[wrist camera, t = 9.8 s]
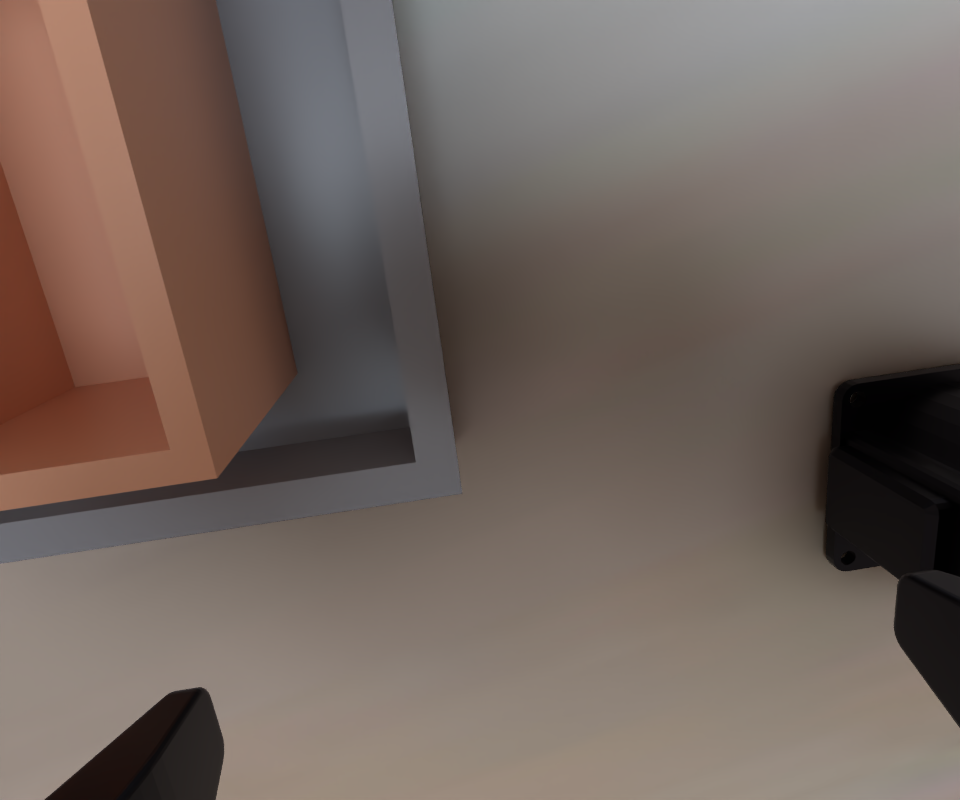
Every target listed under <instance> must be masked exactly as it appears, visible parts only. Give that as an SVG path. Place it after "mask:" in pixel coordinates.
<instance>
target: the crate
mask: <svg viewBox="0 0 960 800" xmlns="http://www.w3.org/2000/svg"><path fill="white" fill-rule="evenodd" d="M216 4H217V9H218V13H219V18H220V22H221V27H222V31H223V36H224V40H225V45H226V49H227V54H228V59H229V63H230V68H231V72H232V77H233V81H234V86H235V90H236V95H237V100H238V104H239V109H240V113H241V118H242V122H243V127H244V131H245V136H246V140H247V145H248V150H249V154H250V159H251V163H252V168H253V172H254V177H255V181H256V186H257V191H258V195H259V200H260V204H261V209H262V213H263V218H264V222H265V227H266V231H267V236H268V241H269V245H270V250H271V254H272V259H273V263H274V268H275V272H276V277H277V282H278V286H279V291H280V295H281V300H282V304H283V309H284V313H285V318H286V322H287V327H288V332H289V336H290V341H291V345H292V350H293V354H294V359H295V363H296V368H297V373H298V374H297V375H296V376H295V378H294V379H293V380H292V382H291V383H290V384H289V386H288V387H287V388H286V389H285V391H284V392H283V393H282V395H281V396H280V397H279V399H278V400H277V401H276V402H275V404H274V405H273V406H272V408H271V409H270V410H269V412H268V413H267V414H266V416H265V417H264V418H263V419H262V421H261V422H260V423H259V425H258V426H257V427H256V429H255V430H254V431H253V432H252V434H251V435H250V436H249V438H248V439H247V440H246V442H245V443H244V444H243V445H242V447H241V448H240V449H239V451H238V452H237V453H236V455H235V456H234V457H233V459H232V460H231V461H230V462H229V464H228V465H227V466H226V468H225V469H224V470H223V472H222V473H221V474H220V475H219V477H218V478H216V479H209V480H203V481H196V482H189V483H183V484H176V485H169V486H163V487H156V488H150V489H143V490H136V491H130V492H123V493H116V494H110V495H103V496H97V497H90V498H83V499H77V500H70V501H63V502H57V503H50V504H44V505H37V506H30V507H24V508H17V509H10V510H4V511H0V564H1V563H7V562H14V561H20V560H27V559H34V558H40V557H47V556H53V555H60V554H67V553H73V552H80V551H86V550H93V549H100V548H106V547H113V546H119V545H126V544H133V543H139V542H146V541H152V540H159V539H166V538H172V537H179V536H185V535H192V534H199V533H205V532H212V531H218V530H225V529H232V528H238V527H245V526H251V525H258V524H265V523H271V522H278V521H285V520H291V519H298V518H304V517H311V516H318V515H324V514H331V513H337V512H344V511H351V510H357V509H364V508H370V507H377V506H384V505H390V504H397V503H403V502H410V501H417V500H423V499H430V498H436V497H443V496H450V495H456V494H462V488H461V481H460V474H459V467H458V460H457V453H456V446H455V439H454V432H453V425H452V418H451V411H450V404H449V397H448V390H447V383H446V376H445V369H444V362H443V355H442V348H441V341H440V333H439V326H438V319H437V312H436V305H435V298H434V291H433V284H432V277H431V270H430V263H429V256H428V249H427V242H426V235H425V228H424V221H423V214H422V207H421V200H420V193H419V186H418V179H417V172H416V165H415V158H414V151H413V144H412V137H411V130H410V123H409V116H408V109H407V102H406V95H405V88H404V81H403V74H402V67H401V60H400V53H399V46H398V39H397V32H396V25H395V18H394V11H393V4H392V0H216Z"/></svg>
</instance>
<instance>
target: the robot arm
mask: <svg viewBox="0 0 960 800" xmlns="http://www.w3.org/2000/svg"><path fill="white" fill-rule="evenodd" d="M855 392H857V397H856V399H855V400H854V401H853V402H851V403H850V398H851V396H852V395H853V394H854V393H855ZM826 523H827V544H826V557H827V560H828V561H829V562H830V563H831V564H832V565H833V566H834V567H836V568H837V569H838V570H841V571H851V570H857V569H864V568H870V567H876V566H882V567H883V568H884V569H886V570H887V571H888V572H890V573H891V574H892V575H894V576H895V577H896V578H897V579H899V581H898V585H897V595H896V606H895V617H894V631H895V635H896V638H897V641H898V643H899V645H900V646H901V648H902V649H903V651H904V652H905V654H906V655H907V656H908V658H909V659H910V660H911V662H912V663H913V665H914V666H915V667H916V669H917V670H918V671H919V673H920V674H921V675H922V677H923V678H924V680H925V681H926V682H927V684H928V685H929V686H930V688H931V689H932V691H933V692H934V693H935V695H936V696H937V697H938V699H939V700H940V702H941V703H942V704H943V706H944V707H945V708H946V710H947V711H948V712H949V714H950V715H951V717H952V718H953V719H954V721H955V722H956V723H957V725H958V726H959V728H960V364H956V365H950V366H943V367H936V368H929V369H922V370H916V371H909V372H902V373H895V374H888V375H881V376H875V377H868V378H861V379H854V380H849V381H846V382H844V383H842V384H841V385H840V386H839V387H838V388H837V390H836V391H835V395H834V403H833V423H832V443H831V453H830V455H829V464H828V485H827V505H826ZM845 552H847V554H846V555H845V556H844V557H842V555H843V554H844V553H845ZM841 557H842V558H841ZM223 759H224V741H223V736H222V733H221V730H220V726H219V723H218V720H217V716H216V713H215V710H214V707H213V703H212V700H211V697H210V695H209V693H208V691H207V690H206V689H204V688H202V687H198V688H191V689H185V690H179V691H174V692H171V693H169V694H168V695H166V696H165V697H164V698H163V699H161V700H160V701H159V702H158V703H157V704H156V705H154V706H153V707H152V708H151V709H150V710H149V711H147V712H146V713H145V714H144V715H143V716H142V717H140V718H139V719H138V720H137V721H136V722H135V723H133V724H132V725H131V726H130V727H129V728H128V729H126V730H125V731H124V732H123V733H122V734H121V735H120V736H118V737H117V738H116V739H115V740H114V741H113V742H111V743H110V744H109V745H108V746H107V747H106V748H104V749H103V750H102V751H101V752H100V753H99V754H97V755H96V756H95V757H94V758H93V759H92V760H90V761H89V762H88V763H87V764H86V765H85V766H83V767H82V768H81V769H80V770H79V771H78V772H76V773H75V774H74V775H73V776H72V777H71V778H69V779H68V780H67V781H66V782H65V783H64V784H62V785H61V786H60V787H59V788H58V789H57V790H55V791H54V792H53V793H52V794H51V795H50V796H48V797H47V798H46V799H45V800H216V795H217V790H218V785H219V780H220V775H221V769H222V764H223Z"/></svg>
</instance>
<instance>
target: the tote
mask: <svg viewBox="0 0 960 800" xmlns="http://www.w3.org/2000/svg"><path fill="white" fill-rule="evenodd" d="M297 374H298V373H297V368H296V363H295V359H294V354H293V350H292V345H291V341H290V336H289V332H288V327H287V322H286V318H285V313H284V309H283V304H282V300H281V295H280V291H279V286H278V282H277V277H276V272H275V268H274V263H273V259H272V254H271V250H270V245H269V241H268V236H267V231H266V227H265V222H264V218H263V213H262V209H261V204H260V200H259V195H258V191H257V186H256V181H255V177H254V172H253V168H252V163H251V159H250V154H249V150H248V145H247V140H246V136H245V131H244V127H243V122H242V118H241V113H240V109H239V104H238V100H237V95H236V90H235V86H234V81H233V77H232V72H231V68H230V63H229V59H228V54H227V49H226V45H225V40H224V36H223V31H222V27H221V22H220V18H219V13H218V9H217V4H216V0H0V511H4V510H10V509H17V508H24V507H30V506H37V505H44V504H50V503H57V502H63V501H70V500H77V499H83V498H90V497H97V496H103V495H110V494H116V493H123V492H130V491H136V490H143V489H150V488H156V487H163V486H169V485H176V484H183V483H189V482H196V481H203V480H209V479H216V478H218V477H219V475H220V474H221V473H222V472H223V470H224V469H225V468H226V466H227V465H228V464H229V462H230V461H231V460H232V459H233V457H234V456H235V455H236V453H237V452H238V451H239V449H240V448H241V447H242V445H243V444H244V443H245V442H246V440H247V439H248V438H249V436H250V435H251V434H252V432H253V431H254V430H255V429H256V427H257V426H258V425H259V423H260V422H261V421H262V419H263V418H264V417H265V416H266V414H267V413H268V412H269V410H270V409H271V408H272V406H273V405H274V404H275V402H276V401H277V400H278V399H279V397H280V396H281V395H282V393H283V392H284V391H285V389H286V388H287V387H288V386H289V384H290V383H291V382H292V380H293V379H294V378H295V376H296V375H297Z"/></svg>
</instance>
